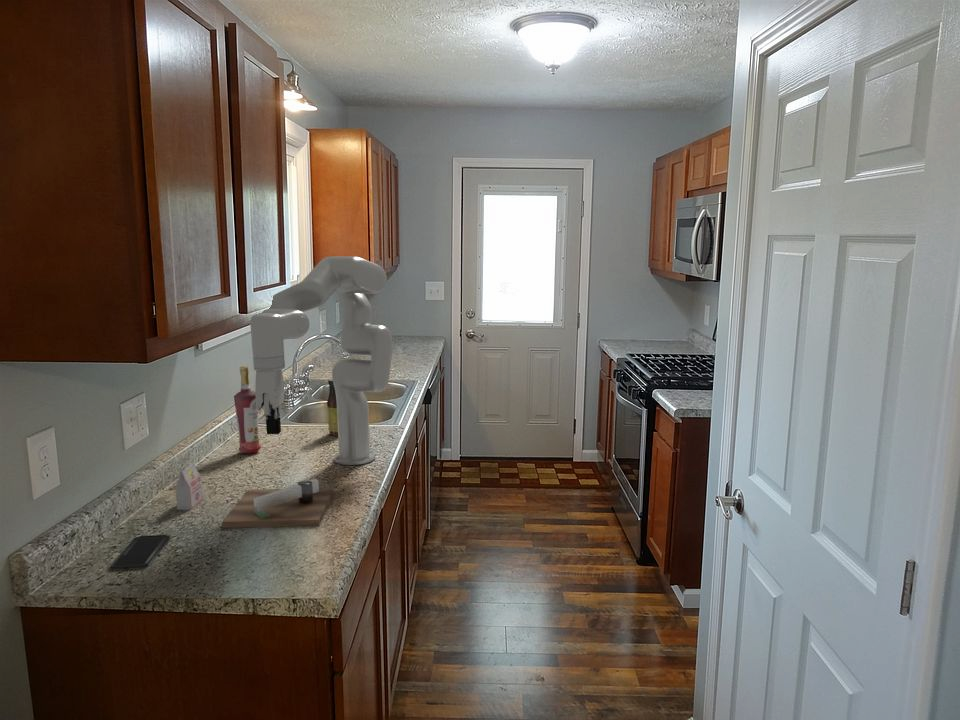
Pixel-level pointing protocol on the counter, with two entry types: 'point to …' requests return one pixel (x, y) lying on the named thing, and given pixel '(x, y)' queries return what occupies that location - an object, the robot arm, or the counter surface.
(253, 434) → the liquor
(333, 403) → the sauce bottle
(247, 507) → the dial board
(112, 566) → the phone
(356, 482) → the counter surface
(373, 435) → the counter surface
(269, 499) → the dial pointer
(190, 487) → the pink white carton
